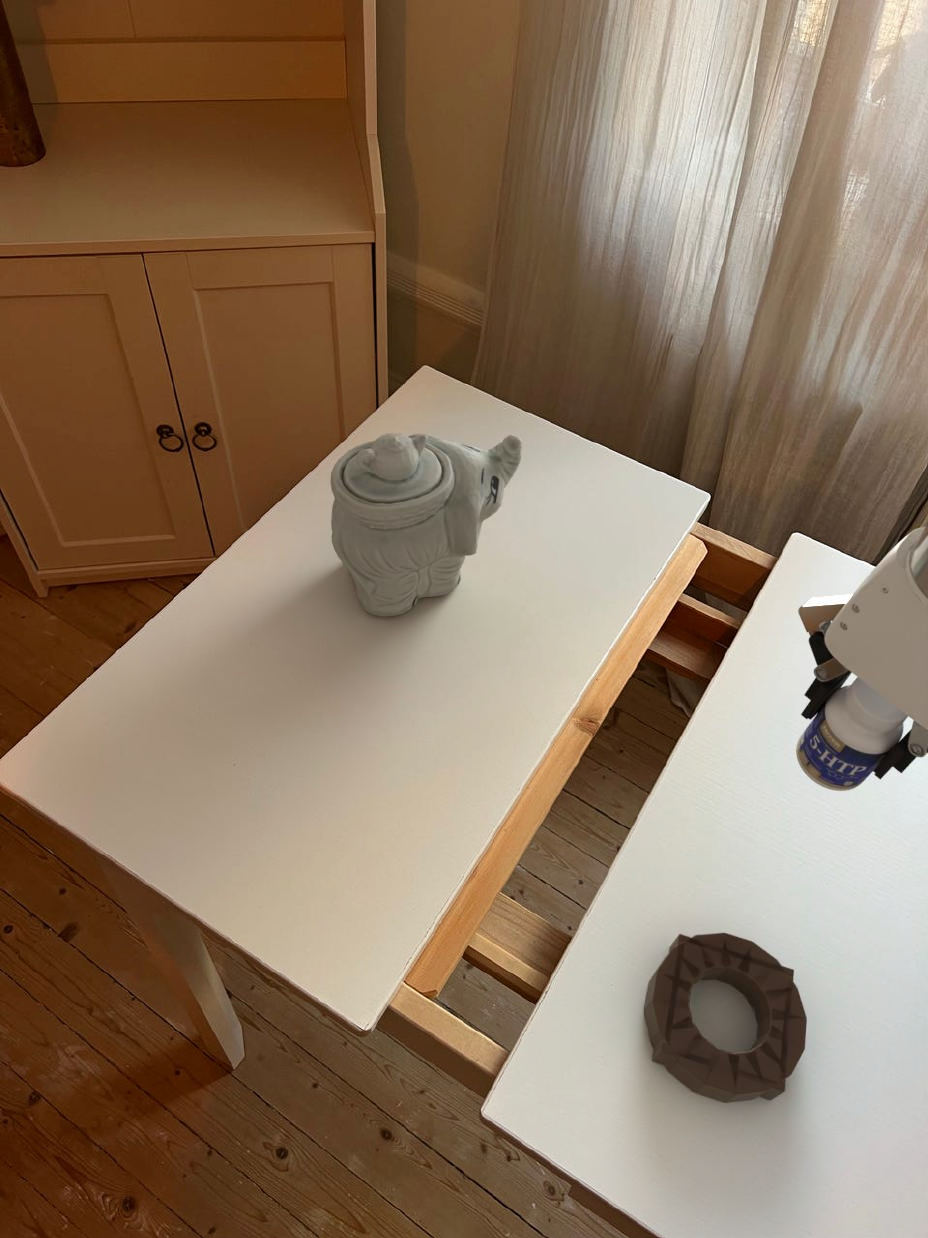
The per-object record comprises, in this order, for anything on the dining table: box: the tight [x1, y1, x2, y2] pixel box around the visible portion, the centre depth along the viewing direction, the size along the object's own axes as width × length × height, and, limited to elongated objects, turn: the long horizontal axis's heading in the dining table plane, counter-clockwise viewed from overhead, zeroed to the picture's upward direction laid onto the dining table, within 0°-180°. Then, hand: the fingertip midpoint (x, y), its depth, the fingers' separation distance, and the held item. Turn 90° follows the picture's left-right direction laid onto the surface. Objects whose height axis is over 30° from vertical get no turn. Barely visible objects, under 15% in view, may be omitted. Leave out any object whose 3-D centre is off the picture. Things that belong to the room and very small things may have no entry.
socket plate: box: [643, 932, 808, 1104], centre depth 72 cm, size 11×11×3 cm
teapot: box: [329, 432, 523, 617], centre depth 91 cm, size 16×15×19 cm
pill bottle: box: [795, 676, 909, 792], centre depth 67 cm, size 5×5×9 cm
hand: (852, 734), depth 67 cm, fingers closed on pill bottle, 5 cm apart
